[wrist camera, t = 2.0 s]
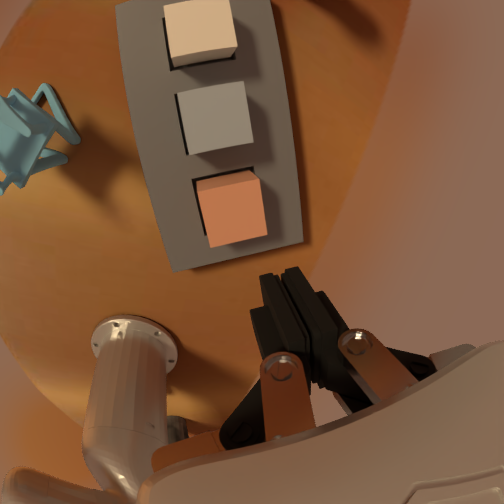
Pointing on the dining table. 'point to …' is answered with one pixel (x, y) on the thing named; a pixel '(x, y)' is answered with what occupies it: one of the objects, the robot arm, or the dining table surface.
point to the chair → (30, 135)
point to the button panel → (219, 160)
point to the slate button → (215, 117)
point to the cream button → (200, 31)
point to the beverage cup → (176, 429)
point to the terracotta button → (232, 208)
